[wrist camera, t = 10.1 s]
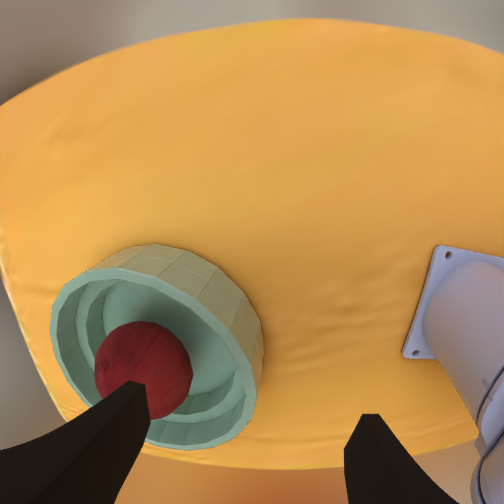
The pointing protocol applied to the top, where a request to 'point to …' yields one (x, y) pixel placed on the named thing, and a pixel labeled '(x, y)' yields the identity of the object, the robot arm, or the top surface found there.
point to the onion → (145, 365)
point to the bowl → (180, 324)
